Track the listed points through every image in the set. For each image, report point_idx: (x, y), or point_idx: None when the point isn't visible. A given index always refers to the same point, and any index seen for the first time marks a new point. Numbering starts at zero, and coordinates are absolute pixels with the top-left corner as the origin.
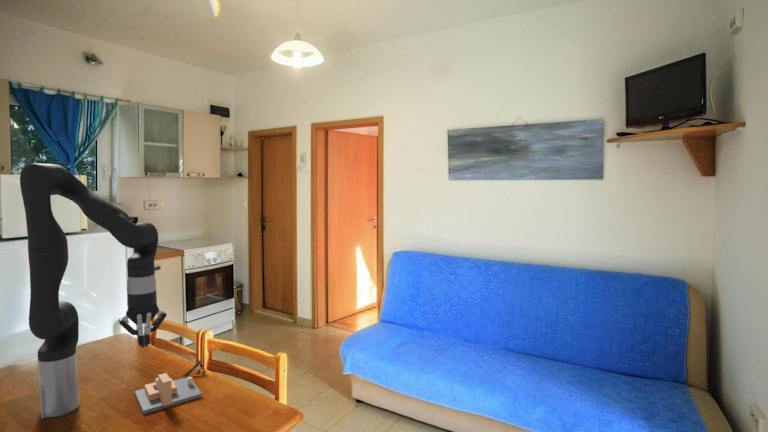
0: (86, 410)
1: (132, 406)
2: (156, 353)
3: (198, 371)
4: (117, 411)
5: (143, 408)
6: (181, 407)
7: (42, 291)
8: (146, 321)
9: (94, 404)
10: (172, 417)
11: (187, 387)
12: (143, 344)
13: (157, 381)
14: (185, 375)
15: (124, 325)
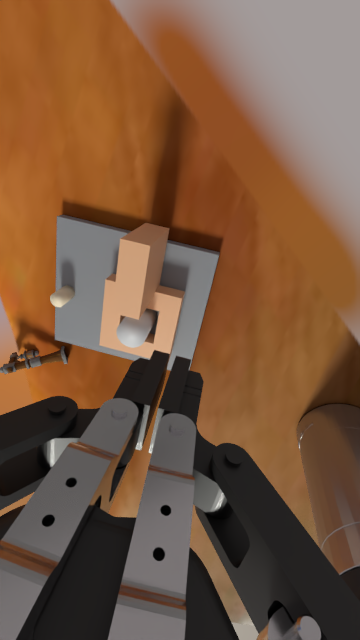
0: (301, 385)
1: (219, 318)
2: None
3: (28, 352)
4: (256, 323)
5: (212, 267)
6: (128, 202)
7: None
8: (80, 516)
9: (275, 397)
10: (170, 163)
11: (78, 285)
12: (176, 365)
13: (143, 327)
14: (61, 351)
15: (333, 598)
